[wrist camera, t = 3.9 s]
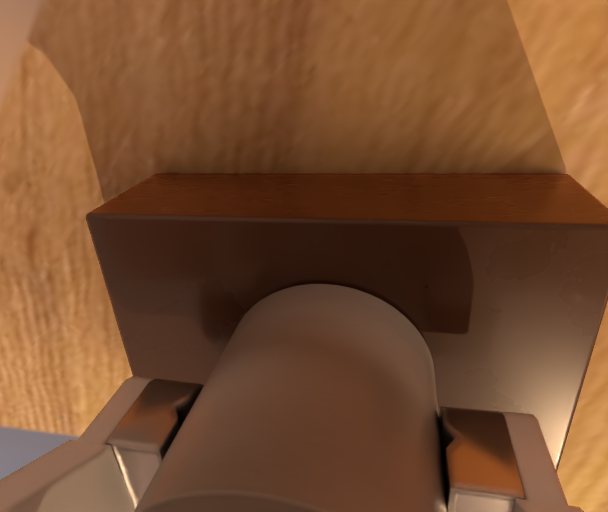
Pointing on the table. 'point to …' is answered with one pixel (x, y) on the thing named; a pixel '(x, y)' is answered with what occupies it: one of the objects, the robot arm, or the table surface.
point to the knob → (311, 414)
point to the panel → (371, 272)
